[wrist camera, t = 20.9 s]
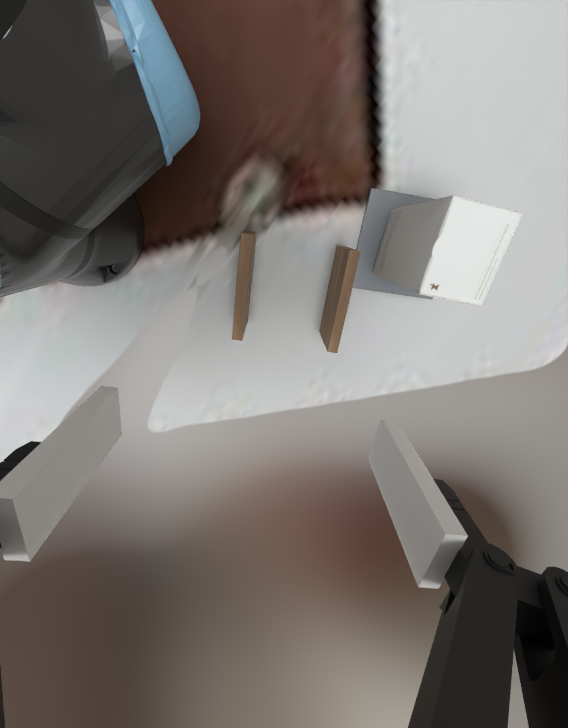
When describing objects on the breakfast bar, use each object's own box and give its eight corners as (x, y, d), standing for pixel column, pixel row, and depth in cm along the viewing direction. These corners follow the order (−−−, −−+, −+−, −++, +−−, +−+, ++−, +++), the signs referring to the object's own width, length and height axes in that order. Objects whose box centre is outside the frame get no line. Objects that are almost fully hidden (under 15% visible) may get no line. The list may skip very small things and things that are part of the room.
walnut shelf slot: (239, 320, 45) (232, 339, 38) (247, 230, 40) (241, 232, 33) (327, 332, 46) (337, 352, 39) (345, 246, 41) (360, 251, 34)
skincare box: (413, 282, 43) (482, 312, 29) (368, 272, 42) (415, 297, 28) (438, 216, 40) (529, 212, 25) (389, 204, 39) (454, 193, 25)
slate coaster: (348, 286, 44) (349, 287, 43) (370, 188, 39) (371, 188, 38) (430, 298, 45) (432, 299, 44) (461, 204, 40) (464, 204, 39)
